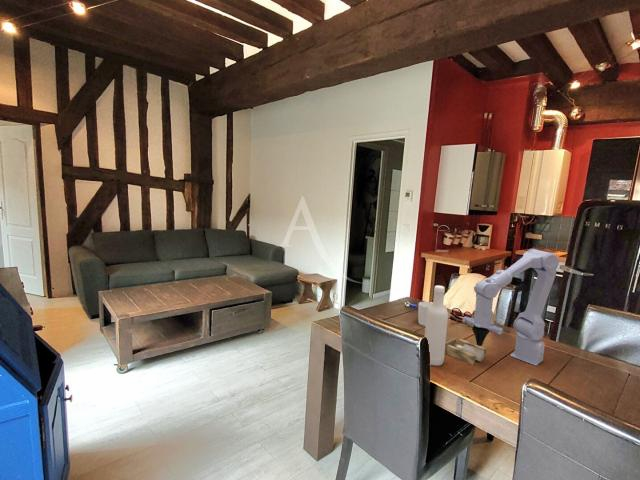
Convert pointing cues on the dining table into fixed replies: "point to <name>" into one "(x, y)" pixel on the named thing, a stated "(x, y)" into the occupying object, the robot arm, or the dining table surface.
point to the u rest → (461, 353)
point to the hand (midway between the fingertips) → (479, 345)
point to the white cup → (422, 312)
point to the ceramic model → (493, 319)
